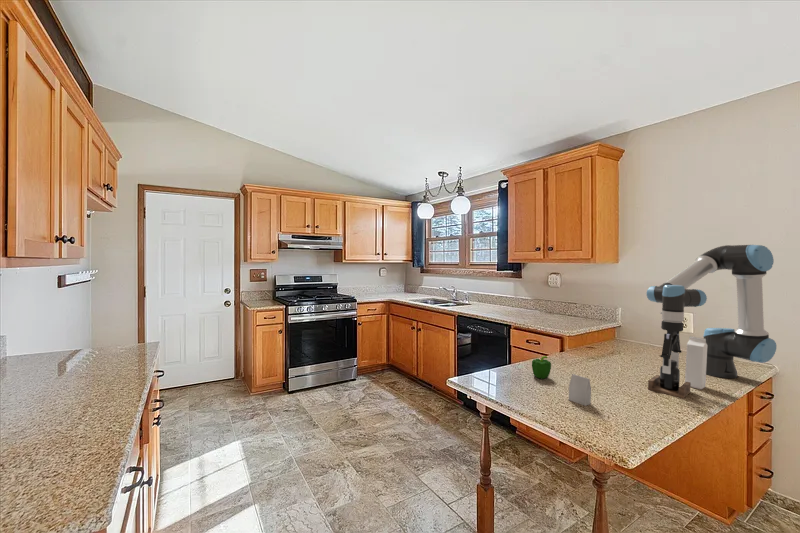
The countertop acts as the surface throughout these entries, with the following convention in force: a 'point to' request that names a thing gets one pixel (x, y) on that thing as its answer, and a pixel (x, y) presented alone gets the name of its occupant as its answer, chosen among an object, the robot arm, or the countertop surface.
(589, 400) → the grey upright block
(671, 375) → the supplement bottle
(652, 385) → the u cradle
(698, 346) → the milk
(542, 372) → the bell pepper
